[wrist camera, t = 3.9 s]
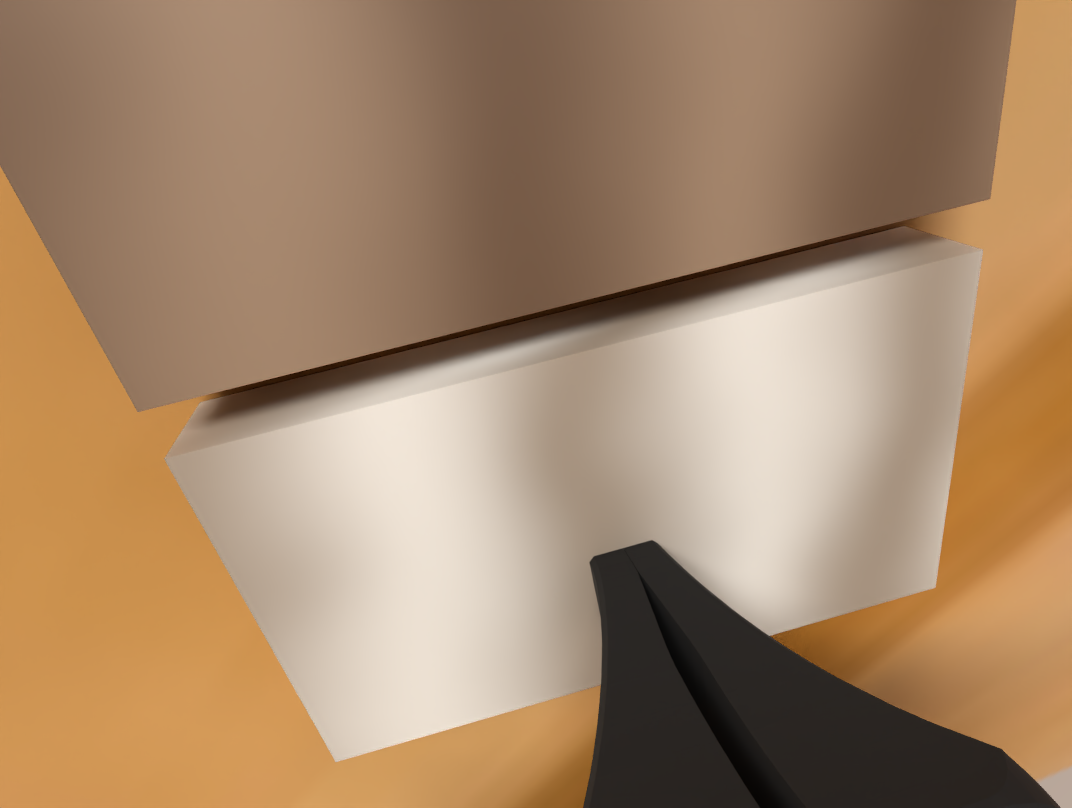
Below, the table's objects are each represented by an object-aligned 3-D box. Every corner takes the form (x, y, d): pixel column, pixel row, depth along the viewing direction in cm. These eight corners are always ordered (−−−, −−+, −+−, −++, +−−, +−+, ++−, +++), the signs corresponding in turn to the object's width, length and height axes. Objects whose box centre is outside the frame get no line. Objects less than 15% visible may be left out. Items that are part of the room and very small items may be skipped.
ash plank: (904, 225, 13) (983, 249, 11) (879, 533, 17) (935, 587, 15) (200, 402, 12) (164, 458, 10) (343, 685, 16) (335, 762, 14)
